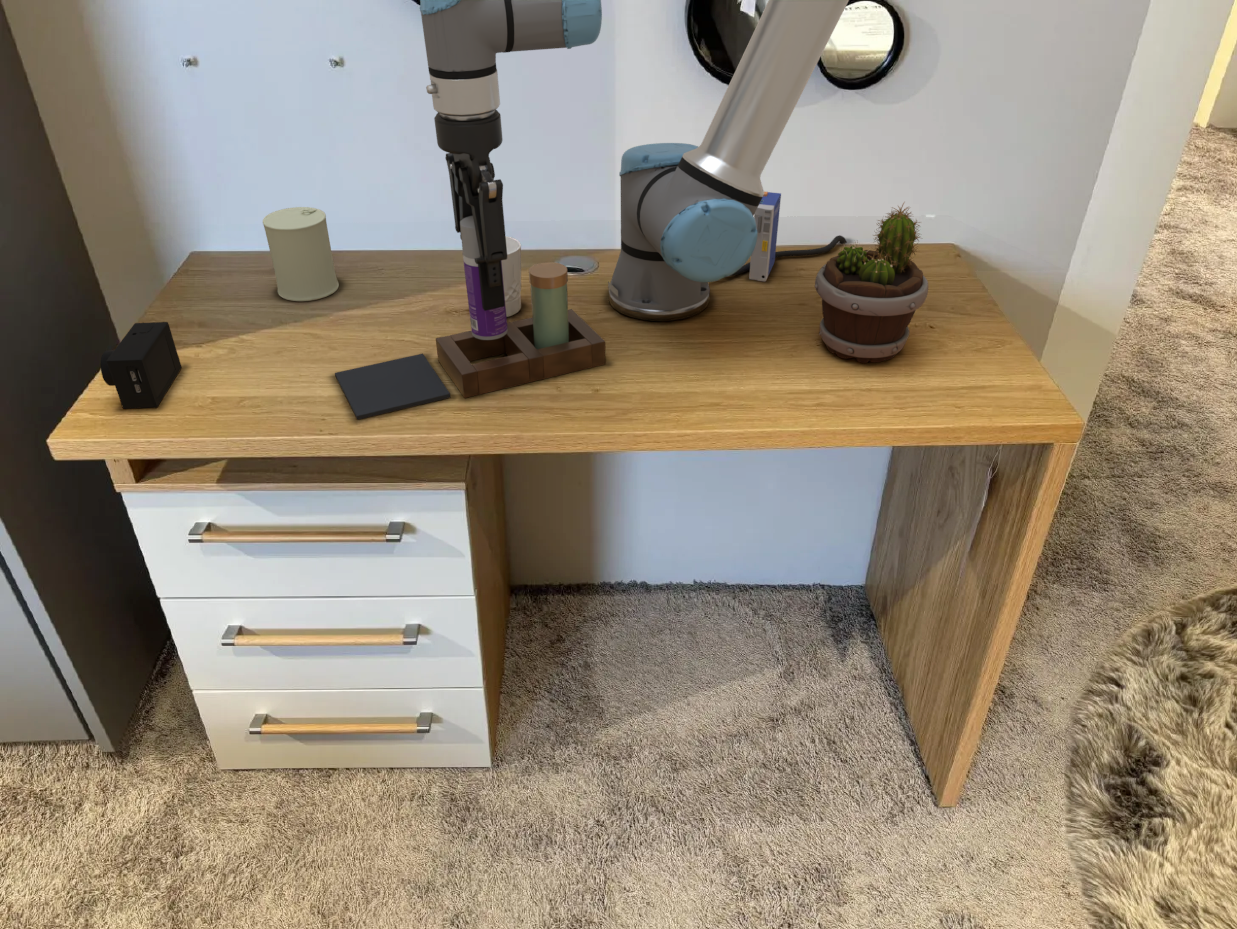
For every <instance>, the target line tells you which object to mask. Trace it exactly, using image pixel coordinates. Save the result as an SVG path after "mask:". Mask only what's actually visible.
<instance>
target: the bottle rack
mask: <svg viewBox="0 0 1237 929" xmlns="http://www.w3.org/2000/svg"><path fill="white" fill-rule="evenodd" d="M568 322H569V342H567V343H563V344H559V345H554V346H550V347H545V348H541V349H536V348H535V347H534V336H533V319H532V317H528V318H523V319H519V320H513V321H509V322H507V329H508V331H507V334H506V335H504V336H503V337H501V338H498V339H494V340H481V339H477V338H475V337H474V336H473V335H472V330H468V331H463V332H458V333H453V334H449V335H445V336H440V337H436V338H435V346H436V352H437V353H436V354H437V361H438V363H439V364H440V365H441V367H442V368H443V370H444V371H445V373H446V374H447V376H448V377H449V378H450V380H451V381H452V383H453V384H454V386H455V387H456V388H457V390H458V391H459V392H460V394H461V395H462V396H463V398H464V399H467V398H472V397H476V396H479V395H483V394H488V393H491V392H496V391H500V390H504V389H508V388H513V387H518V386H521V385H525V384H529V383H533V382H537V381H542V380H546V379H549V378H554V377H558V376H562V375H566V374H570V373H571V374H572V373H575V372H579V371H582V370H586V369H590V368H596V367H600V366H604V365H606V340H604V338H602V336H601V335H600V334H598V333H597V332H596V331H595V330H594V329H593V328H592V327H591V326H590V325H589V324H588V323H587V322H586V321H585V320H584V319H583V318H582V317H581V316H580V315H579V314H578V313H577V312H576V311H575V310H574V309H573V308H568ZM503 354H506V356H504V357H498V358H494V359H493V358H492V359H489V360H485V361H481V362H477V363H471V362H472V361H477V360H481V359H485V358H490V357H495V356H500V355H503Z"/></svg>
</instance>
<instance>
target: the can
mask: <svg viewBox="0 0 1237 929" xmlns="http://www.w3.org/2000/svg"><path fill="white" fill-rule="evenodd" d="M262 225H263V228H264V232H265V235H266V236H265V237H266V241H267V245H268V249H269V253H270V258H271V262H272V267H273V272H274V276H275V281H276V286H277V294H278V296H279V297H281V298H283V299H284V300H286V301H290V302H291V301H292V302H311V301H318V300H321V299H325V298H326V297H329V296H331V295H333V294H334V293H336V292H337V290H338V289H339V287H340V283H339V281H338V278H337V272H336V268H335V262H334V258H333V253H332V247H331V241H330V235H329V229H328V223H327V215H326V213H325V211H323V210H322V209H319V208H316V207H309V206H295V207H287V208H282V209H278V210H275V211H272V212H271V213H268V214H266V215H265V216H264V217H263V219H262Z"/></svg>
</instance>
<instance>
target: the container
mask: <svg viewBox="0 0 1237 929" xmlns="http://www.w3.org/2000/svg"><path fill="white" fill-rule="evenodd" d="M460 227H461V238H460V240H461V239H462V240H461V248H462V250H461V251H462V260H463V269H464V278H465V286H466V295H467V305H468V314H469V320H470V329H471V330H470V331H472V335H473V336H474V337H475V338H477V339H481V340H494V339H498V338H501V337H503V336H504V335H506V334H507V331H508V329H507V323H508V319H507V318H508V317H506V306H504V307H499V308H495V309H490V310H486V311H484V309H483V307H482V297H481V288H480V279H479V270H478V264H476V263H475V258H480V253H479V248H478V242H477V236H476V231H475V225H474V219H473V216H469V217H466V218H464V219H462V220H461V221H460ZM501 269H502V262H501ZM502 279H503V273H502ZM503 290H504V284H503ZM504 301H505V295H504Z"/></svg>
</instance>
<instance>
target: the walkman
mask: <svg viewBox="0 0 1237 929" xmlns="http://www.w3.org/2000/svg"><path fill="white" fill-rule="evenodd" d="M781 199H782V193H781V192H772V191H771V192H770V191H764V196H763V198H762V200H761V202H760V204H759V206H758V208H757V210H756V212H755V214H754V215H753V217H754V218H755V222H756V229H757V233H758V234H757V242H756V246H755V248H754V251H753V253H752V255H751V256H750V261H749V262H750V269H749V275H748V277H749V278H748V279H749V280H753V281H758V282H766V281H767V279H768V277H769V275H770V273H771V271H772V268H773V266H774V264H775V261H776V258H775V252H777V241H778V230H779V218H780V209H781Z"/></svg>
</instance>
